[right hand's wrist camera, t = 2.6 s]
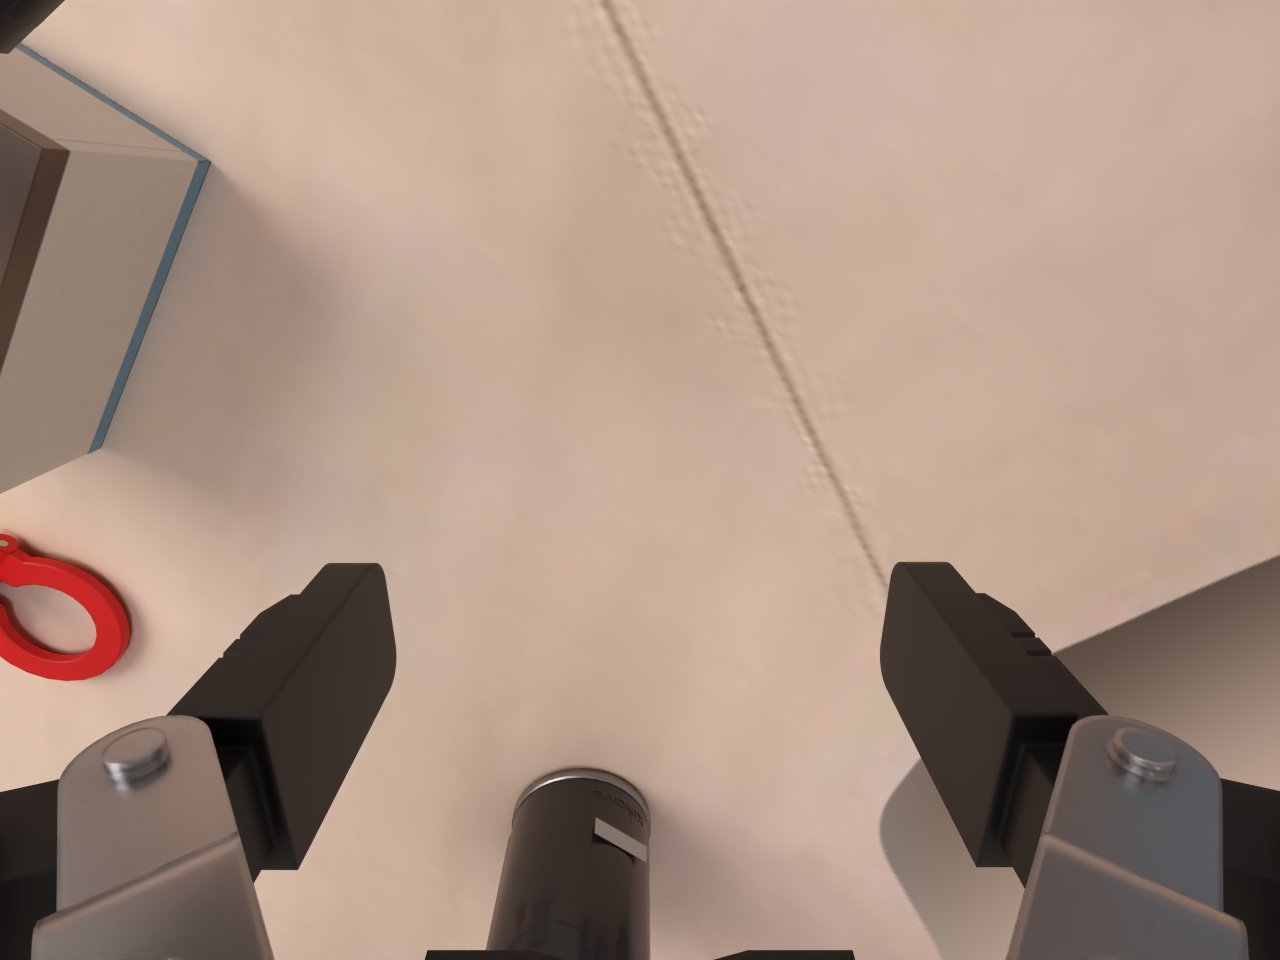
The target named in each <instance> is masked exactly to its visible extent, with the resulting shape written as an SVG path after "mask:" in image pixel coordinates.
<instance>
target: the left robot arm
mask: <svg viewBox="0 0 1280 960" xmlns="http://www.w3.org/2000/svg"><path fill="white" fill-rule="evenodd" d="M63 1H65V0H0V53H2V54H9V53H10V52H11V51H12V50H13V49H14V48H15V47H16V46H17V45H18V44H19V43H20V42H21V41H22V40H23V39H24V38H25V37H26V36H27V35H28V34H29V33H31V32H32V31H33V30H34V29H35V28H36V27H37V26H39V25H40V24H41V23H42V22H43V21H44V20H45V19H46V18H47V17H48V16H49V15H50V14H51V13H52V12H53V11H54V10H55V9H56V8H57V7H58V6H59V5H60V4H61V3H62V2H63Z"/></svg>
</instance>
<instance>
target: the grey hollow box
mask: <svg viewBox="0 0 1280 960" xmlns="http://www.w3.org/2000/svg"><path fill="white" fill-rule="evenodd" d="M0 109H1V110H3V111H4V112H6V113H8V114H9V115H11V116H13V117H14V118H16V119H18V120H19V121H21V122H23V123H24V124H26V125H28V126H29V127H31V128H33V129H34V130H36V131H38V132H39V133H41V134H43V135H44V136H46V137H48V138H49V139H51V140H53V141H54V142H56V143H58V144H59V145H61V146H63V147H64V148H66V149H68V150H69V155H68V158H67V162H66V165H65V168H64V171H63V174H62V178H61V181H60V184H59V187H58V190H57V193H56V197H55V200H54V203H53V206H52V209H51V212H50V216H49V219H48V222H47V225H46V228H45V232H44V235H43V238H42V241H41V244H40V247H39V251H38V254H37V257H36V260H35V263H34V266H33V270H32V273H31V276H30V279H29V282H28V286H27V289H26V292H25V295H24V298H23V301H22V305H21V308H20V311H19V314H18V317H17V321H16V324H15V327H14V330H13V333H12V336H11V340H10V343H9V346H8V349H7V352H6V355H5V359H4V362H3V365H2V368H1V371H0V494H1V493H3V492H5V491H7V490H10V489H12V488H14V487H16V486H18V485H20V484H22V483H25V482H27V481H29V480H31V479H33V478H35V477H37V476H40V475H42V474H44V473H46V472H48V471H50V470H53V469H55V468H57V467H59V466H61V465H63V464H65V463H68V462H70V461H72V460H74V459H76V458H78V457H81V456H83V455H85V454H89V453H91V452H93V451H95V450H97V449H100V448H101V445H102V443H103V440H104V438H105V435H106V432H107V430H108V427H109V425H110V422H111V419H112V417H113V414H114V412H115V409H116V406H117V404H118V401H119V399H120V396H121V393H122V391H123V388H124V386H125V383H126V380H127V378H128V375H129V373H130V370H131V367H132V365H133V362H134V360H135V357H136V354H137V352H138V349H139V347H140V344H141V341H142V339H143V336H144V334H145V331H146V328H147V326H148V323H149V321H150V318H151V315H152V313H153V310H154V308H155V305H156V302H157V300H158V297H159V295H160V292H161V289H162V287H163V284H164V282H165V279H166V276H167V274H168V271H169V269H170V266H171V263H172V261H173V258H174V256H175V253H176V250H177V248H178V245H179V243H180V240H181V237H182V235H183V232H184V230H185V227H186V224H187V222H188V219H189V217H190V214H191V211H192V209H193V206H194V204H195V201H196V198H197V196H198V193H199V191H200V188H201V185H202V183H203V180H204V178H205V175H206V172H207V170H208V167H209V165H210V161H209V160H207V159H205V158H204V157H202V156H201V155H199V154H197V153H196V152H194V151H192V150H191V149H189V148H188V147H186V146H184V145H183V144H181V143H180V142H178V141H176V140H175V139H173V138H172V137H170V136H168V135H167V134H165V133H164V132H162V131H160V130H159V129H157V128H155V127H154V126H152V125H151V124H149V123H147V122H146V121H144V120H143V119H141V118H139V117H138V116H136V115H135V114H133V113H131V112H130V111H128V110H126V109H125V108H123V107H122V106H120V105H118V104H117V103H115V102H114V101H112V100H110V99H109V98H107V97H106V96H104V95H102V94H101V93H99V92H97V91H96V90H94V89H93V88H91V87H89V86H88V85H86V84H85V83H83V82H81V81H80V80H78V79H77V78H75V77H73V76H72V75H70V74H68V73H67V72H65V71H64V70H62V69H60V68H59V67H57V66H56V65H54V64H52V63H51V62H49V61H48V60H46V59H44V58H43V57H41V56H39V55H38V54H36V53H35V52H33V51H31V50H30V49H28V48H27V47H25V46H23V45H22V44H20V43H19V44H18V45H17V46H16V47H15V48H14V49H13V50H12V51H11V52H10V53H9V54H2V53H0Z"/></svg>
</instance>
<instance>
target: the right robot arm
mask: <svg viewBox="0 0 1280 960" xmlns="http://www.w3.org/2000/svg"><path fill="white" fill-rule="evenodd" d="M223 654H224V655H223V658H218V659H217V661H216V662H215V663H214V664H213V665H212V666H211V667H210V668H209V669H208V670H207V671H206V673H205V674H204V675H203V676H202V677H201V678H200V679H199V680H198V681H197V682H196V683H195V685H194V686H193V687H192V688H191V689H190V690H189V691H188V692H187V693H186V694H185V695H184V696H183V698H182V699H181V700H180V701H179V702H178V703H177V704H176V705H175V706H174V707H173V708H172V710H171V711H170V712H169V713H168V714H167V715H166V716H160V717H155V718H150V719H146V720H142V721H139V722H136V723H133V724H130V725H128V726H125V727H122V728H120V729H118V730H116V731H114V732H112V733H110V734H108V735H106V736H104V737H102V738H101V739H99V740H97V741H96V742H94V743H93V744H91V745H90V746H88V747H87V748H86V749H84V750H83V751H82V752H81V753H80V754H78V755H77V756H76V757H75V758H74V759H73V760H72V761H71V762H70V763H69V765H68V766H67V767H66V769H65V770H64V771H63V773H62V775H61V777H60V779H58V780H54V781H50V782H45V783H40V784H36V785H31V786H27V787H22V788H17V789H13V790H8V791H4V792H0V960H275V959H274V956H273V952H272V948H271V945H270V941H269V938H268V934H267V931H266V927H265V923H264V920H263V916H262V913H261V909H260V905H259V902H258V898H257V895H256V891H255V888H254V882H255V880H256V878H257V877H258V875H259V873H260V871H261V870H298V869H299V867H300V865H301V863H302V861H303V859H304V857H305V855H306V853H307V851H308V849H309V847H310V845H311V843H312V841H313V839H314V837H315V835H316V833H317V832H318V830H319V828H320V826H321V824H322V822H323V820H324V818H325V816H326V814H327V812H328V810H329V808H330V806H331V804H332V802H333V800H334V798H335V796H336V794H337V792H338V790H339V788H340V786H341V784H342V783H343V781H344V779H345V777H346V775H347V773H348V771H349V769H350V767H351V765H352V763H353V761H354V759H355V757H356V755H357V753H358V751H359V749H360V747H361V745H362V743H363V741H364V739H365V737H366V736H367V734H368V732H369V730H370V728H371V726H372V724H373V722H374V720H375V718H376V716H377V714H378V712H379V710H380V708H381V706H382V704H383V702H384V700H385V698H386V696H387V694H388V692H389V690H390V688H391V686H392V683H393V679H394V675H395V668H396V645H395V638H394V632H393V625H392V618H391V612H390V605H389V599H388V592H387V585H386V579H385V574H384V571H383V569H382V567H381V566H380V565H379V564H378V563H328V564H326V565H325V566H324V567H323V568H322V569H321V570H320V571H319V573H318V574H317V575H316V576H315V577H314V578H313V580H312V581H311V582H310V583H309V584H308V585H307V586H306V588H305V589H304V590H303V591H302V592H301V593H300V595H289V596H288V597H286V598H284V599H283V600H281V601H279V602H278V603H276V604H274V605H273V606H271V607H269V608H268V609H266V610H264V611H263V612H261V613H260V614H259V615H258V616H257V617H256V618H255V619H254V620H253V621H252V622H251V624H250V625H249V626H248V627H247V628H246V629H245V630H244V631H243V632H242V633H241V634H240V639H236V640H235V641H234V642H233V643H232V644H231V645H230V646H229V648H228V649H227V650H226V651H225V652H224V653H223ZM880 664H881V672H882V677H883V680H884V683H885V686H886V688H887V691H888V693H889V694H890V696H891V698H892V700H893V702H894V704H895V706H896V708H897V710H898V712H899V714H900V716H901V718H902V720H903V722H904V724H905V726H906V728H907V730H908V732H909V734H910V736H911V738H912V740H913V742H914V744H915V746H916V748H917V750H918V752H919V754H920V756H921V758H922V760H923V762H924V764H925V766H926V768H927V770H928V772H929V774H930V776H931V778H932V780H933V782H934V784H935V786H936V788H937V790H938V792H939V794H940V796H941V798H942V799H943V802H944V804H945V806H946V807H947V810H948V811H949V813H950V815H951V817H952V819H953V821H954V823H955V825H956V827H957V829H958V831H959V833H960V835H961V837H962V839H963V841H964V843H965V845H966V847H967V849H968V851H969V853H970V855H971V857H972V859H973V861H974V863H975V865H976V867H1013V868H1014V870H1015V872H1016V874H1017V875H1018V877H1019V879H1020V881H1021V883H1022V884H1023V886H1024V888H1025V891H1024V895H1023V898H1022V902H1021V905H1020V909H1019V913H1018V916H1017V920H1016V923H1015V927H1014V931H1013V934H1012V938H1011V941H1010V945H1009V949H1008V952H1007V956H1006V959H1005V960H1280V791H1277V790H1272V789H1267V788H1263V787H1258V786H1254V785H1249V784H1245V783H1240V782H1235V781H1230V780H1226V779H1222V778H1220V777H1219V775H1218V773H1217V771H1216V770H1215V769H1214V767H1213V766H1212V765H1211V763H1210V762H1209V761H1208V760H1207V759H1206V758H1205V757H1204V756H1203V755H1202V754H1200V753H1199V752H1198V751H1197V750H1196V749H1194V748H1193V747H1192V746H1190V745H1189V744H1187V743H1186V742H1184V741H1183V740H1181V739H1179V738H1178V737H1176V736H1174V735H1172V734H1170V733H1168V732H1166V731H1164V730H1162V729H1160V728H1158V727H1155V726H1152V725H1150V724H1147V723H1144V722H1141V721H1138V720H1134V719H1130V718H1125V717H1120V716H1112V715H1109V714H1108V713H1107V712H1106V711H1105V710H1104V709H1103V708H1102V706H1101V705H1100V704H1099V703H1098V702H1097V701H1096V700H1095V699H1094V698H1093V697H1092V696H1091V694H1090V693H1089V692H1088V691H1087V690H1086V689H1085V688H1084V687H1083V686H1082V685H1081V683H1080V682H1079V681H1078V680H1077V679H1076V678H1075V677H1074V676H1073V675H1072V674H1071V673H1070V671H1069V670H1068V669H1067V668H1066V667H1065V666H1064V665H1063V664H1062V663H1061V661H1060V660H1059V659H1058V658H1057V657H1056V656H1052V655H1051V650H1050V649H1049V648H1048V647H1047V646H1046V645H1045V644H1044V643H1043V642H1042V641H1041V639H1040V638H1035V633H1034V632H1033V631H1032V630H1031V629H1030V627H1029V626H1028V625H1027V624H1026V623H1025V622H1024V621H1023V620H1022V619H1021V618H1020V616H1019V615H1018V614H1017V613H1016V612H1015V611H1013V610H1012V609H1010V608H1008V607H1007V606H1005V605H1003V604H1002V603H1000V602H998V601H997V600H995V599H993V598H992V597H990V596H988V595H987V594H985V593H975V592H974V591H973V589H972V588H971V587H970V586H969V585H968V584H967V582H966V581H965V580H964V579H963V578H962V576H961V575H960V574H959V573H958V572H957V571H956V569H955V568H954V567H953V566H952V565H951V564H950V563H948V562H898V563H897V564H896V565H895V566H894V568H893V570H892V574H891V579H890V585H889V592H888V599H887V605H886V612H885V619H884V626H883V632H882V639H881V646H880ZM649 838H650V814H649V810H648V807H647V805H646V803H645V801H644V799H643V798H642V796H641V795H640V794H639V793H638V792H637V791H636V790H635V789H634V788H633V787H632V786H631V785H629V784H628V783H627V782H625V781H624V780H622V779H620V778H618V777H616V776H613V775H611V774H608V773H605V772H601V771H596V770H590V769H570V770H563V771H558V772H555V773H552V774H549V775H546V776H544V777H542V778H540V779H539V780H537V781H535V782H534V783H533V784H531V785H530V786H529V787H528V788H527V789H526V790H525V791H524V792H523V793H522V795H521V796H520V798H519V799H518V801H517V803H516V806H515V810H514V814H513V819H512V832H511V836H510V837H509V840H508V845H507V850H506V855H505V859H504V864H503V869H502V874H501V879H500V884H499V889H498V893H497V898H496V903H495V908H494V913H493V918H492V922H491V927H490V932H489V937H488V942H487V947H486V950H427V954H426V958H425V960H650V890H649ZM715 960H855V958H854V954H853V950H747V951H744V952H740V953H737V954H733V955H729V956H726V957H722V958H718V959H715Z"/></svg>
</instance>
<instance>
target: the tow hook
mask: <svg viewBox="0 0 1280 960" xmlns="http://www.w3.org/2000/svg"><path fill="white" fill-rule="evenodd" d="M18 545H19V544H18V542H17V540H16V539H15V538H13V537H11V536H9V535H6V534H0V580H1V581H3V582H5V583H6V584H8V585H10V586H12V587H19V586H22V585H41V586H48V587H51V588H54V589H57V590H60V591H62V592H64V593H66V594H67V595H69V596H71V597H73V598H74V599H75V600H76V601H78V602H79V603H80V604H81V605H83V606H84V608H85V609H86V610H87V611H88V613H89V614H90V615H91V617H92V619H93V621H94V623H95V626H96V633H97V637H96V641H95V645H94V646H93V648H92V649H91V650H89V651H87V652H84V653H81V654H75V655H63V654H55V653H52V652H49V651H45V650H42V649H40V648H38V647H37V646H35V645H33V644H31V643H30V642H28V641H27V640H26V639H24V638H23V637H22V636H20V634H19V633H18V632H17V631H16V630H15V629H14V628H13V626H12V625H11V623H10V621H9V619H8V617H7V613H6V609H5V607H4V606H3V605H2V604H0V656H1V657H2V658H3V659H5V660H6V661H7V662H9V663H10V664H12V665H14V666H16V667H18V668H20V669H22V670H24V671H26V672H28V673H31V674H34V675H37V676H41V677H44V678H47V679H54V680H63V681H74V680H85V679H88V678H91V677H94V676H97V675H100V674H102V673H103V672H105V671H106V670H107V669H109V668H110V667H112V666H113V665H114V664H115V663H116V662H117V661H118V660H119V659H120V657H121V656H122V654H123V653H124V652H125V650H126V649H127V645H128V640H129V636H130V633H129V625H128V619H127V617H126V615H125V612H124V610H123V608H122V606H121V604H120V603H119V601H118V600H117V599H116V598H115V596H114V595H113V594H112V593H111V591H110V590H109V589H108V588H107V587H105V586H104V585H103V584H102V583H101V582H99V581H98V580H97V579H96V578H95V577H93V576H91V575H90V574H88V573H86V572H84V571H83V570H81V569H79V568H77V567H75V566H72V565H70V564H67V563H64V562H61V561H58V560H55V559H48V558H40V557H31V556H30V555H28V554H26V553H25V552H23V551H21V550H20V549H18Z"/></svg>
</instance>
